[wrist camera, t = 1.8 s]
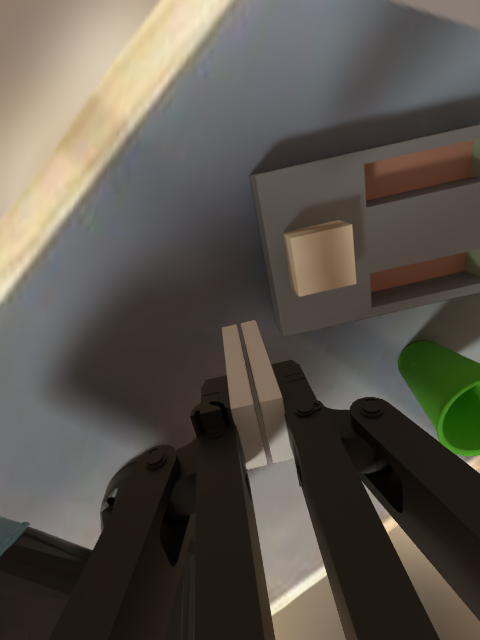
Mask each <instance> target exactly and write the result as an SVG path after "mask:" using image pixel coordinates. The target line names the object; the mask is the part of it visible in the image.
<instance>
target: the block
mask: <svg viewBox="0 0 480 640" xmlns="http://www.w3.org/2000/svg"><path fill="white" fill-rule="evenodd" d="M283 239H284V245H285V252H286V258H287V265H288V271H289V278H290V285H291V287H292V289H293V290H294V291H295V292H296V294H297V295H298V296H299V297H301V296H305V295H309V294H314V293H318V292H323V291H327V290H331V289H336V288H340V287H345V286H349V285H353V284H356V271H355V257H354V243H353V229H352V224H349V223H346V222H343V221H340V220H336V221H332V222H327V223H323V224H319V225H314V226H310V227H305V228H301V229H296V230H292V231H287V232H283Z"/></svg>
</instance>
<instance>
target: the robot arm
mask: <svg viewBox="0 0 480 640" xmlns="http://www.w3.org/2000/svg"><path fill="white" fill-rule="evenodd" d="M241 327H242V332H243V336H244V341H245V345H246V350H247V354H248V359H249V363H250V368H251V372H252V376H253V380H254V384H255V389H256V393H257V397H258V401H259V405H260V410H261V414H262V418H263V422H264V427H265V431H266V435H267V439H268V443H269V448H270V452H271V456H272V460H273V464H274V463H278V462H282V461H287V460H291V459H295V464H296V469H297V475H298V480H299V485H300V486H301V487H302V490H303V494H304V497H305V501H306V504H307V507H308V511H309V514H310V518H311V521H312V525H313V528H314V531H315V535H316V538H317V542H318V545H319V549H320V552H321V555H322V559H323V562H324V566H325V569H326V572H327V576H328V579H329V583H330V586H331V589H332V593H333V596H334V600H335V603H336V606H337V610H338V613H339V617H340V620H341V624H342V627H343V631H344V634H345V637H346V640H440V639H439V637H438V635H437V633H436V631H435V629H434V627H433V625H432V623H431V621H430V619H429V617H428V615H427V613H426V611H425V609H424V607H423V605H422V603H421V601H420V599H419V597H418V595H417V593H416V591H415V589H414V587H413V585H412V583H411V580H410V579H409V576H408V575H407V572H406V570H405V568H404V566H403V564H402V562H401V560H400V558H399V556H398V554H397V552H396V550H395V548H394V546H393V544H392V542H391V540H390V538H389V536H388V534H387V532H386V530H385V528H384V526H383V524H382V522H381V520H380V518H379V516H378V514H377V512H376V510H375V508H374V506H373V503H372V501H371V499H370V497H369V495H368V493H367V491H366V489H365V487H364V485H363V483H364V484H365V485H366V486H367V488H368V489H369V490H370V491H371V492H372V494H373V495H374V496H375V497H376V498H377V500H378V501H379V502H380V503H381V504H382V505H383V507H384V508H385V509H386V510H387V511H388V513H389V514H390V515H391V516H392V517H393V519H394V520H395V521H396V522H397V523H398V524H399V526H400V527H401V528H402V529H403V530H404V532H405V533H406V534H407V535H408V536H409V538H410V539H411V540H412V541H413V542H414V543H415V544H416V546H417V547H418V548H419V549H420V550H421V552H422V553H423V554H424V555H425V556H426V558H427V559H428V560H429V561H430V563H431V564H432V565H433V566H434V567H435V568H436V569H437V571H438V572H439V573H440V574H441V575H442V577H443V578H444V579H445V580H446V582H447V583H448V584H449V585H450V586H451V587H452V589H453V590H454V591H455V592H456V593H457V595H458V596H459V597H460V598H461V599H462V601H463V602H464V603H465V604H466V605H467V606H468V607H469V609H470V610H471V611H472V612H473V614H474V615H475V616H476V617H477V618H478V620H479V621H480V473H478V472H477V471H476V470H475V469H473V468H472V467H471V466H469V465H468V464H467V463H466V462H464V461H463V460H462V459H460V458H459V457H458V456H457V455H455V454H454V453H453V452H451V451H450V450H449V449H448V448H446V447H445V446H444V445H442V444H441V443H440V442H439V441H437V440H436V439H435V438H433V437H432V436H431V435H429V434H428V433H427V432H426V431H424V430H423V429H422V428H420V427H419V426H418V425H417V424H415V423H414V422H413V421H411V420H410V419H409V418H408V417H406V416H405V415H404V414H402V413H401V412H400V411H399V410H397V409H396V408H395V407H393V406H392V405H391V404H390V403H388V402H386V401H385V400H383V399H379V398H375V397H365V398H361V399H358V400H356V401H355V402H353V403H352V405H351V406H350V410H335V409H330V408H327V407H325V406H324V405H323V404H322V403H321V402H320V401H318V400H317V399H316V397H315V395H314V393H313V391H312V389H311V387H310V385H309V383H308V381H307V379H306V377H305V375H304V373H303V371H302V369H301V367H300V365H299V364H297V363H296V362H294V361H293V360H289V361H284V362H280V363H276V364H271V363H270V361H269V358H268V355H267V352H266V349H265V346H264V343H263V341H262V338H261V335H260V332H259V329H258V326H257V323H256V321H255V320H253V321H249V322H244V323H241ZM222 335H223V344H224V353H225V362H226V371H227V376H222V377H218V378H214V379H209V380H206V382H205V383H204V385H203V387H202V394H201V396H202V397H201V403H200V404H199V405H197V406H196V407H195V408H194V409H193V410H192V412H191V415H190V417H191V420H192V423H193V426H194V429H195V432H196V435H197V437H196V438H195V440H193V441H192V442H191V443H190V444H188V445H186V446H184V447H182V448H180V449H178V450H176V451H175V450H174V448H172V447H171V446H167V445H160V446H156V447H153V448H151V449H149V450H148V451H146V452H145V453H144V454H143V455H141V457H140V458H139V460H138V461H137V462H136V463H133V464H131V465H129V466H127V467H126V468H124V469H122V470H121V471H120V472H119V473H117V474H116V475H115V476H114V477H113V479H112V480H111V481H110V483H109V485H108V487H107V489H106V492H105V495H104V498H103V502H102V505H101V512H100V518H101V535H100V537H99V539H98V541H97V543H96V545H95V547H94V549H93V550H90V549H88V548H85V547H82V546H79V545H77V544H74V543H71V542H69V541H66V540H63V539H61V538H58V537H55V536H53V535H50V534H47V533H45V532H42V531H39V530H37V529H34V528H31V527H28V526H29V525H30V523H28V522H23V523H19V522H16V521H13V520H10V519H6V518H3V517H0V640H275V635H274V629H273V623H272V616H271V610H270V604H269V598H268V592H267V586H266V580H265V574H264V567H263V561H262V555H261V549H260V543H259V537H258V531H257V525H256V519H255V512H254V506H253V500H252V494H251V488H250V482H249V478H248V474H247V470H248V469H252V468H256V467H261V466H265V465H267V460H266V456H265V451H264V446H263V442H262V437H261V433H260V428H259V423H258V419H257V414H256V410H255V405H254V400H253V396H252V391H251V386H250V382H249V377H248V373H247V368H246V364H245V359H244V355H243V351H242V346H241V342H240V338H239V333H238V329H237V325H236V324H235V325H231V326H227V327H222ZM293 456H294V457H293ZM246 468H247V470H246ZM362 482H363V483H362Z"/></svg>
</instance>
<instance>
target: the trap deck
mask: <svg viewBox="0 0 480 640" xmlns="http://www.w3.org/2000/svg"><path fill="white" fill-rule="evenodd" d="M249 176H250V182H251V187H252V193H253V199H254V204H255V210H256V215H257V221H258V227H259V232H260V238H261V243H262V249H263V254H264V260H265V266H266V271H267V277H268V282H269V288H270V294H271V299H272V305H273V310H274V316H275V322H276V324H277V326H278V328H279V330H280V332H281V334H282V336H283V337H287V336H291V335H295V334H300V333H304V332H309V331H313V330H317V329H322V328H326V327H331V326H335V325H339V324H344V323H348V322H352V321H357V320H361V319H366V318H370V317H374V316H379V315H383V314H388V313H392V312H396V311H401V310H405V309H410V308H414V307H418V306H423V305H427V304H431V303H436V302H440V301H445V300H449V299H453V298H458V297H462V296H467V295H471V294H475V293H480V124H476V125H471V126H467V127H462V128H458V129H453V130H449V131H444V132H440V133H435V134H431V135H427V136H422V137H418V138H413V139H409V140H404V141H400V142H395V143H391V144H386V145H382V146H378V147H373V148H369V149H364V150H360V151H355V152H351V153H346V154H342V155H337V156H333V157H328V158H324V159H320V160H315V161H311V162H306V163H302V164H297V165H293V166H288V167H284V168H279V169H275V170H271V171H266V172H262V173H257V174H253V175H249ZM336 220H340V221H343V222H346V223H349V224H352V229H353V243H354V257H355V271H356V284H353V285H349V286H345V287H340V288H336V289H331V290H327V291H323V292H318V293H314V294H309V295H305V296H301V297H299V296H298V295H297V294H296V292H295V291H294V290H293V289H292V287H291V285H290V278H289V271H288V265H287V258H286V252H285V245H284V239H283V232H287V231H292V230H296V229H301V228H305V227H310V226H314V225H319V224H323V223H327V222H332V221H336Z"/></svg>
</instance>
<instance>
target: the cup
mask: <svg viewBox="0 0 480 640" xmlns="http://www.w3.org/2000/svg"><path fill="white" fill-rule="evenodd" d="M398 367H399V371H400V373H401V375H402V377H403V378H404V380H405V381H406V383H407V384H408V386H409V388H410V389H411V391H412V392H413V394H414V395H415V397H416V399H417V400H418V402H419V403H420V405H421V406H422V408H423V410H424V411H425V413H426V414H427V416H428V417H429V419H430V421H431V422H432V424H433V425H434V427H435V429H436V430H437V436H438V439H439V441H440V443H441V444H442V445H444V446H445V447H446V448H448V449H449V450H450V451H451V452H453V453H455V454H459V455H463V456H477V455H480V363H477V362H475V361H473V360H471V359H469V358H466V357H464V356H462V355H460V354H458V353H455V352H453V351H451V350H449V349H447V348H444V347H442V346H440V345H438V344H435V343H433V342H430V341H418V342H414V343H412V344H410V345H409V346H407V347H406V348H405V349H404V350H403V351H402V353H401V354H400V356H399V360H398Z"/></svg>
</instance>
